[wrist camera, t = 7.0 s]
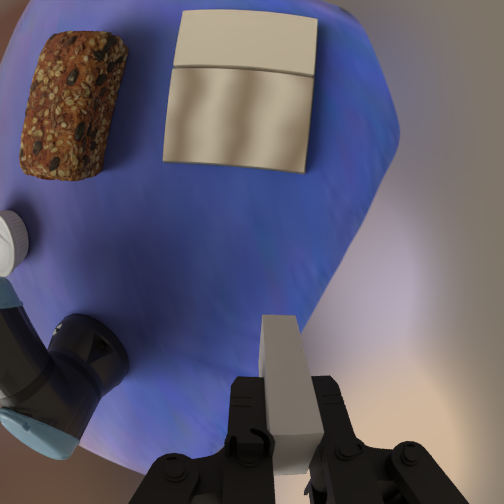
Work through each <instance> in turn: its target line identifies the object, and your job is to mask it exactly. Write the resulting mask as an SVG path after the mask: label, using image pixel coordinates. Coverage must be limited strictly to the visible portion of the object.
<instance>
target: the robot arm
mask: <svg viewBox="0 0 504 504" xmlns="http://www.w3.org/2000/svg"><path fill="white" fill-rule="evenodd" d="M127 370H128V358H127V354H126V352H125V349H124V348H123V346H122V344H121V343H120V341H119V340H118V339H117V337H116V336H115V335H114V334H113V333H112V332H111V331H110V330H109V329H108V328H107V327H105V326H104V325H103V324H101V323H100V322H98V321H96V320H95V319H92V318H90V317H88V316H84V315H78V314H74V315H69V316H67V317H65V318H64V319H63V320H62V321H61V322H60V323H59V324H58V325H57V327H56V328H55V330H54V333H53V336H52V338H51V341H50V344H49V347H48V350H47V349H46V347H45V346H44V344H43V342H42V341H41V339H40V337H39V335H38V334H37V332H36V330H35V328H34V327H33V325H32V323H31V321H30V319H29V317H28V315H27V314H26V312H25V310H24V307H23V303H22V302H21V301H20V300H19V298H18V296H17V294H16V292H15V290H14V288H13V286H12V284H11V283H10V281H9V280H8V279H7V278H5V277H2V276H0V404H1V406H2V408H0V421H1V423H2V424H3V425H4V427H5V428H6V429H7V430H8V431H9V432H11V433H12V434H13V435H14V436H15V437H17V438H18V439H19V440H20V441H21V442H23V443H24V444H26V445H27V446H29V447H30V448H32V449H34V450H35V451H37V452H39V453H41V454H43V455H45V456H48V457H50V458H54V459H58V460H65V459H68V458H69V457H70V456H71V454H72V453H73V451H74V449H75V448H76V446H77V445H78V444H79V443H80V439H81V437H82V435H83V433H84V431H85V429H86V427H87V425H88V423H89V421H90V419H91V417H92V415H93V413H94V411H95V409H96V407H97V405H98V403H99V401H100V400H101V398H102V397H103V396H104V395H106V394H107V393H108V392H109V391H111V390H112V389H113V388H114V387H116V386H117V385H119V384H120V383H121V382H122V380H123V378H124V376H125V374H126V373H127ZM224 444H225V445H224V447H223V448H222V449H221V450H220V451H219V452H218V453H216V454H214V455H211V456H208V457H202V458H196V459H191V458H189V457H187V456H186V455H183V454H178V453H171V454H165V455H163V456H161V457H159V458H158V459H157V460H156V461H155V462H154V463H153V464H152V466H151V468H150V469H149V471H148V473H147V474H146V476H145V477H144V479H143V481H142V482H141V484H140V486H139V487H138V489H137V490H136V492H135V494H134V495H133V497H132V499H131V500H130V502H129V504H275V489H274V475H295V474H306V473H307V471H308V469H310V476H311V479H310V481H309V483H308V485H307V486H306V488H305V490H304V495H307V494H308V492H309V498H310V504H469V503H468V501H467V500H466V499H465V498H464V496H463V495H462V494H461V493H460V491H459V490H458V489H457V488H456V486H455V485H454V484H453V483H452V481H451V480H450V479H449V478H448V476H447V475H446V474H445V473H444V471H443V470H442V469H441V468H440V467H439V465H438V464H437V463H436V461H435V460H434V459H433V458H432V456H431V455H430V454H429V453H428V451H427V450H426V449H425V448H424V447H423V446H422V445H421V444H419V443H416V442H414V441H405V442H402V443H400V444H398V445H397V446H395V448H394V449H393V450H392V449H380V448H373V447H369V446H366V445H365V444H364V443H363V442H362V441H361V440H359V439H358V438H356V436H355V434H354V431H353V428H352V425H351V422H350V419H349V415H348V412H347V409H346V406H345V404H344V400H343V397H342V396H341V392H340V388H339V386H338V384H337V382H336V381H335V380H334V379H333V378H332V377H331V376H330V375H329V376H311V375H310V371H309V368H308V363H307V359H306V355H305V351H304V347H303V343H302V339H301V335H300V331H299V328H298V324H297V320H296V316H295V315H262V325H261V338H260V350H259V377H241V376H237V378H236V379H235V381H234V382H233V383H232V385H231V393H230V407H229V420H228V433H227V436H226V439H225V442H224Z"/></svg>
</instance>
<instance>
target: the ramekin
mask: <svg viewBox="0 0 504 504" xmlns="http://www.w3.org/2000/svg"><path fill="white" fill-rule="evenodd" d="M28 246H29V239H28V233H27V229H26V227H25V224H24V222H23V221H22V219H21V218H20V217H19V216H18V215H17V214H16V213H15V212H13V211H10V210H3V211H0V276H2V277H5V276H8V275H9V274H11V273H12V272H13V271H14V269H15V268H16V267H17V266H18V265H19V264H20V263H21V262H22V261H23V260H24V259H25V257H26V255H27V252H28Z"/></svg>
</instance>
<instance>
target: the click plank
mask: <svg viewBox="0 0 504 504" xmlns="http://www.w3.org/2000/svg"><path fill="white" fill-rule="evenodd" d="M312 90H313V78H309V77H303V76H296V75H289V74H282V73H274V72H264V71H253V70H240V69H218V68H179V69H172V76H171V83H170V91H169V98H168V107H167V116H166V126H165V137H164V149H163V161H184V162H203V163H218V164H231V165H243V166H253V167H263V168H272V169H281V170H289V171H297V172H304V167H305V159H306V150H307V141H308V132H309V122H310V112H311V101H312Z"/></svg>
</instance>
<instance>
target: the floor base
mask: <svg viewBox="0 0 504 504" xmlns="http://www.w3.org/2000/svg"><path fill="white" fill-rule="evenodd" d="M317 40H318V26H317V19H314V18H309V17H303V16H297V15H290V14H282V13H273V12H263V11H249V10H187V11H183V15H182V19H181V24H180V29H179V34H178V40H177V45H176V51H175V57H174V63H173V65H174V69H179V68H218V69H240V70H253V71H264V72H274V73H282V74H289V75H296V76H303V77H309V78H313V90H312V101H311V112H310V122H309V132H308V141H307V150H306V159H305V167H304V172H297V171H289V170H281V169H272V168H263V167H253V166H243V165H231V164H218V163H203V162H184V161H164V163H186V164H204V165H219V166H232V167H243V168H254V169H263V170H273V171H281V172H289V173H297V174H305V170H306V162H307V153H308V144H309V135H310V125H311V115H312V105H313V94H314V82H315V69H316V56H317Z"/></svg>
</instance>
